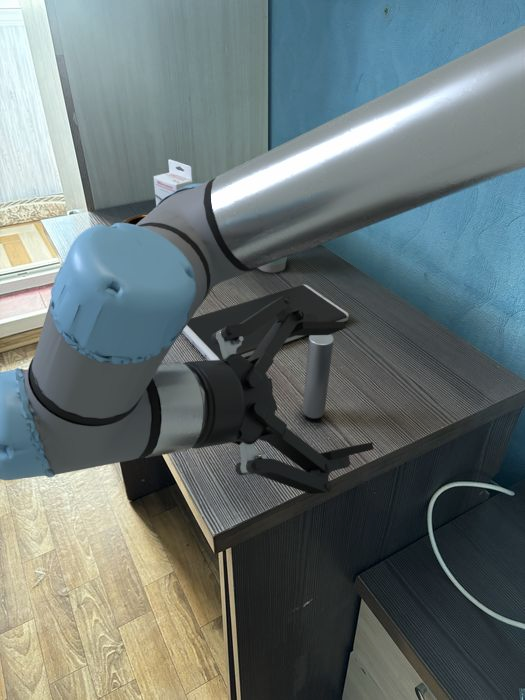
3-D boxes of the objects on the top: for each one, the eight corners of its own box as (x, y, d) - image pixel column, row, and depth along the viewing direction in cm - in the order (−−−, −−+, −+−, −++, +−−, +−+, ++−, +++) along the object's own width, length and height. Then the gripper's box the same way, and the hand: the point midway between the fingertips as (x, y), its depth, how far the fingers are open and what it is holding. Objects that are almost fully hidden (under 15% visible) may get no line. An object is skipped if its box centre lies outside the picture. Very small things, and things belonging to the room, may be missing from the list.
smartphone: (177, 329, 88) (176, 321, 87) (304, 290, 100) (305, 282, 99) (215, 370, 79) (214, 361, 78) (350, 322, 91) (351, 313, 90)
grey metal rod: (328, 415, 71) (338, 336, 64) (316, 427, 69) (325, 347, 62) (309, 406, 72) (317, 328, 65) (297, 417, 71) (304, 338, 63)
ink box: (157, 225, 125) (150, 162, 116) (173, 219, 128) (168, 158, 119) (179, 235, 120) (175, 170, 112) (196, 229, 123) (192, 166, 115)
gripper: (144, 284, 49) (303, 293, 63) (187, 555, 45) (349, 501, 58) (182, 252, 44) (349, 269, 57) (236, 558, 39) (404, 498, 53)
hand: (349, 386), depth 58 cm, fingers open, 13 cm apart
